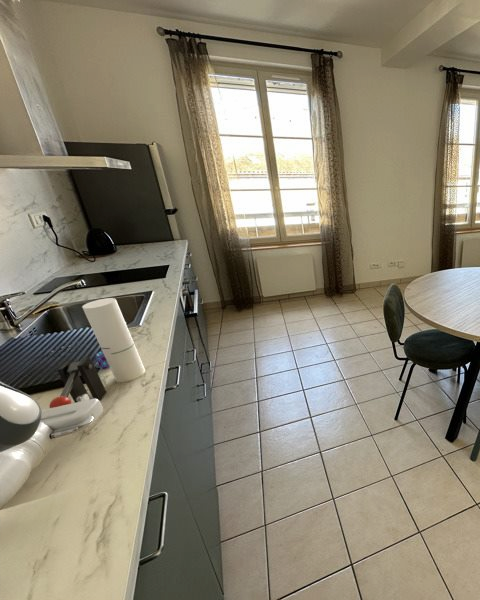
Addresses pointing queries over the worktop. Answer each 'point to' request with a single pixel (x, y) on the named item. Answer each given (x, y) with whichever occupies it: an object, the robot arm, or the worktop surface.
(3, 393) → the robot arm
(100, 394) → the toaster bracket
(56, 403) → the lever
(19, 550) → the worktop surface
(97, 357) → the pudding
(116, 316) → the cylindrical container
